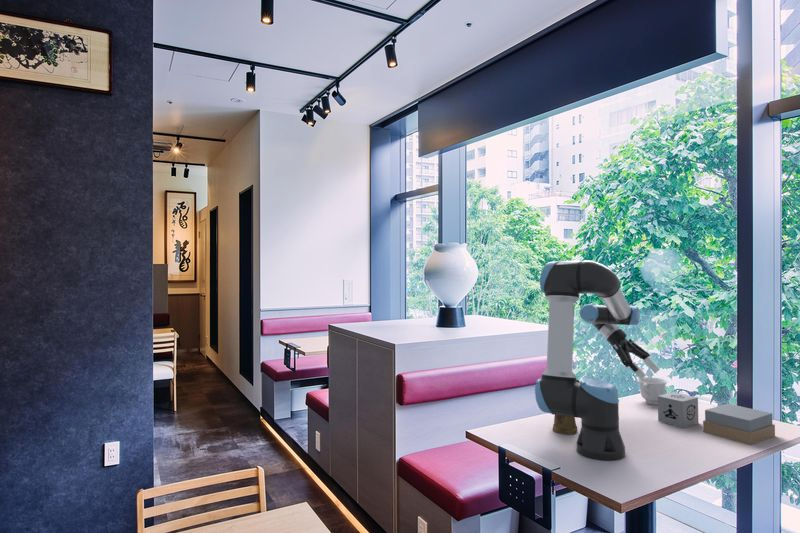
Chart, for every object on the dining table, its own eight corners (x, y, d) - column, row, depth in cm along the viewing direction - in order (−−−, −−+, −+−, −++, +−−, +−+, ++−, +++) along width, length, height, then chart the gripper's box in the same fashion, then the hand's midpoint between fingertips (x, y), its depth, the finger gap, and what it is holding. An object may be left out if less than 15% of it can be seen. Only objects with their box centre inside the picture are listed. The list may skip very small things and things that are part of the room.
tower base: (750, 444, 172) (750, 421, 172) (703, 431, 186) (702, 409, 186) (775, 435, 179) (774, 413, 179) (727, 423, 193) (727, 403, 193)
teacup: (630, 404, 223) (629, 381, 222) (644, 397, 233) (643, 376, 233) (659, 409, 214) (658, 386, 214) (672, 402, 224) (671, 379, 224)
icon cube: (673, 416, 204) (672, 392, 204) (698, 423, 195) (697, 397, 195) (658, 421, 199) (657, 395, 199) (683, 428, 190) (682, 401, 190)
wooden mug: (589, 428, 192) (588, 381, 192) (568, 436, 184) (567, 387, 184) (568, 422, 200) (567, 377, 199) (547, 430, 191) (546, 383, 191)
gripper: (620, 335, 225) (656, 374, 214) (593, 343, 208) (630, 385, 197) (632, 324, 221) (669, 363, 210) (605, 331, 204) (644, 374, 193)
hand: (650, 374), depth 204 cm, fingers open, 13 cm apart
